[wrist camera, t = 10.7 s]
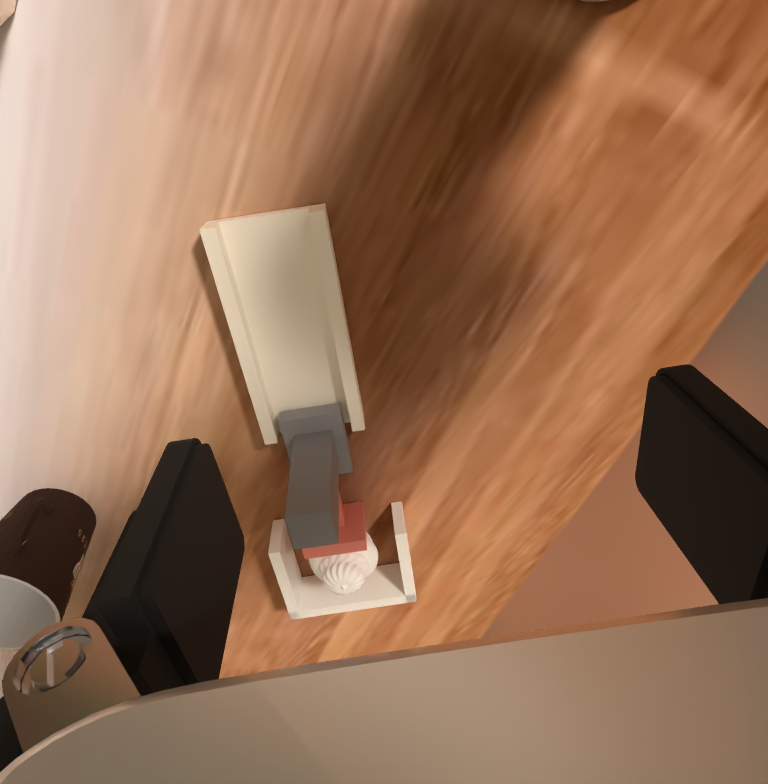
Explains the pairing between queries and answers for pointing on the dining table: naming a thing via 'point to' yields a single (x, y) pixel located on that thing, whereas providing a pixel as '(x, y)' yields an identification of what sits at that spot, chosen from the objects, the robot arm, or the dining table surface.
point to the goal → (317, 600)
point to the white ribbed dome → (346, 569)
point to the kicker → (320, 483)
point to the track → (285, 312)
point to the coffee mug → (40, 561)
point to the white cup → (6, 9)
